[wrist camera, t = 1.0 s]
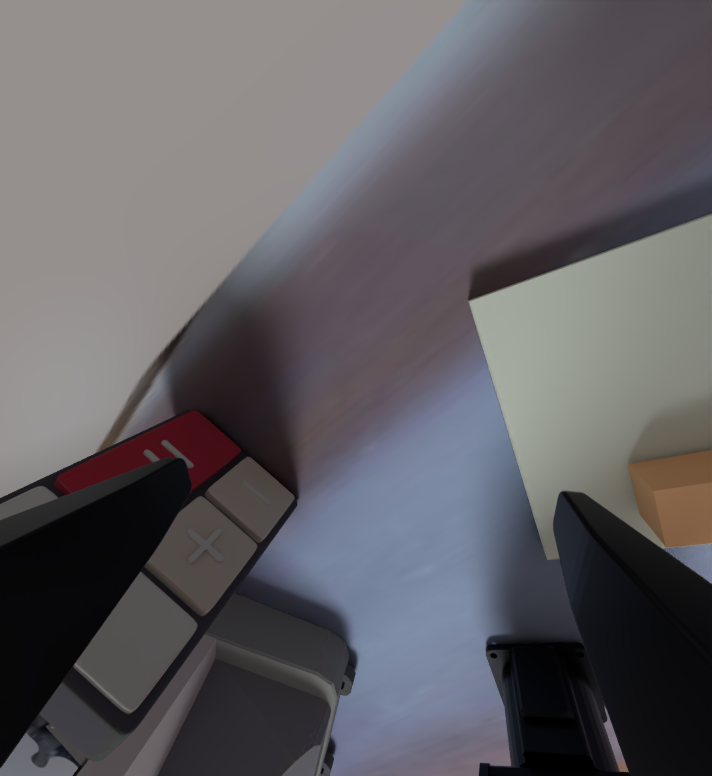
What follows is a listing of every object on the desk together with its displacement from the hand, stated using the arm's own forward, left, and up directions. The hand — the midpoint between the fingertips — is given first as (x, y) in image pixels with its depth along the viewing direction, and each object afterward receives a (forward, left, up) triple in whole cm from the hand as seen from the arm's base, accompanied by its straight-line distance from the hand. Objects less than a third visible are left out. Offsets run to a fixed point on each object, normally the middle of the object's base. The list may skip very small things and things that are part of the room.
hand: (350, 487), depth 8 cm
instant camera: (-24, +25, -14) cm, 38 cm away
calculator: (-3, +16, -14) cm, 21 cm away
